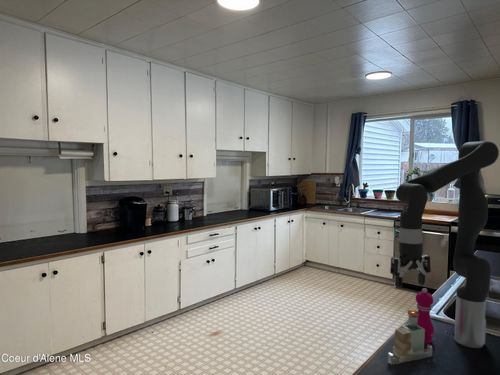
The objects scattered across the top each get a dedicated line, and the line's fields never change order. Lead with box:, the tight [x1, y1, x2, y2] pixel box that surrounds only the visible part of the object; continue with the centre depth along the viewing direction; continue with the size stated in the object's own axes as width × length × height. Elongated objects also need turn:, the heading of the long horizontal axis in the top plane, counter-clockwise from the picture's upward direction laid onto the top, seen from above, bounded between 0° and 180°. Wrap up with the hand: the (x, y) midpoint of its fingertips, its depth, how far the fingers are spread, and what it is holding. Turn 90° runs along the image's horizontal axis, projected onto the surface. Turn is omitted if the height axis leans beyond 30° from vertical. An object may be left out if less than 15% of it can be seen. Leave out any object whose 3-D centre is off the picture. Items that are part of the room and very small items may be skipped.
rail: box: [387, 343, 433, 366], centre depth 117 cm, size 18×2×4 cm, turn 109°
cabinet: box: [400, 323, 425, 352], centre depth 124 cm, size 6×5×8 cm
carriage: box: [392, 327, 413, 362], centre depth 115 cm, size 5×4×10 cm
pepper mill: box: [415, 287, 435, 345], centre depth 130 cm, size 7×7×20 cm
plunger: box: [407, 309, 419, 330], centre depth 123 cm, size 4×4×6 cm
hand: (410, 285), depth 121 cm, fingers open, 8 cm apart
